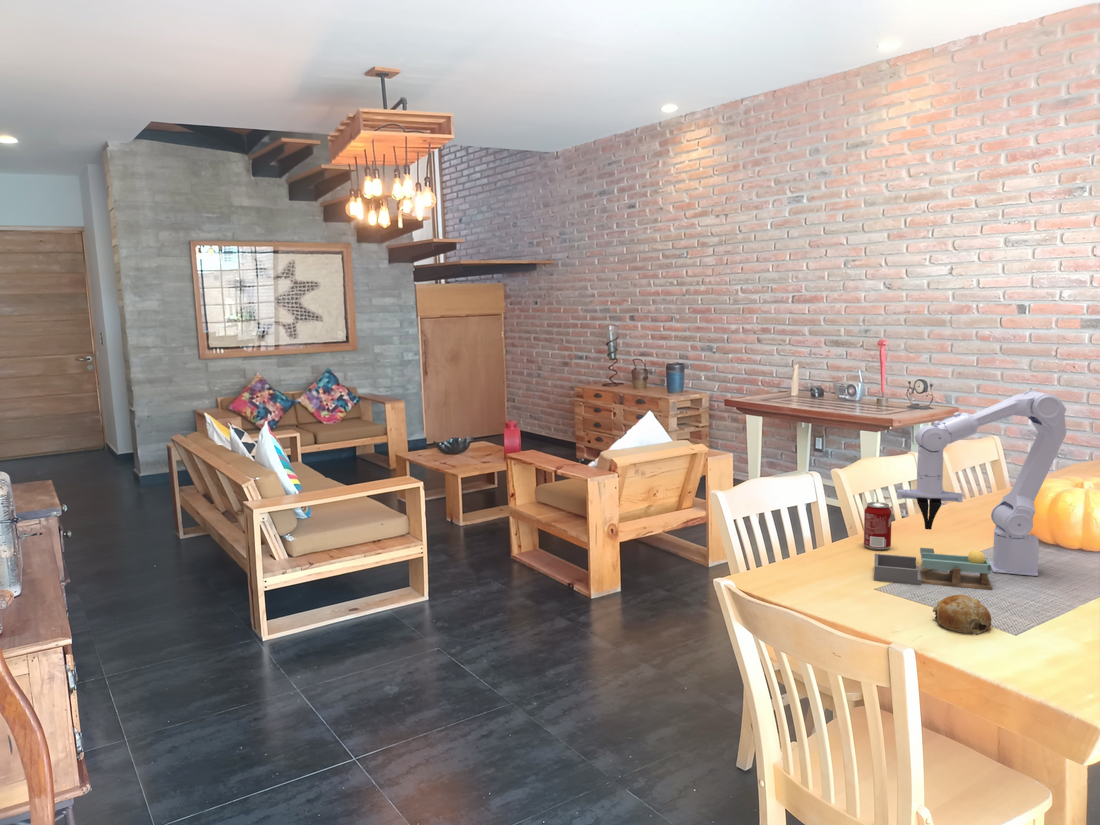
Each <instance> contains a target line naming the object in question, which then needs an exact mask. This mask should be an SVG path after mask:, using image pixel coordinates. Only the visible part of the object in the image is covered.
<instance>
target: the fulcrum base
mask: <svg viewBox="0 0 1100 825" xmlns="http://www.w3.org/2000/svg"><path fill="white" fill-rule="evenodd" d="M920 575H921V584H924V585H927V584H928V585H933V586H934V585H935V586H936V585H937V586H946V587H957V588H968V589H979V590H990V591H992V590H993V587H992V586H993V585H992V584H991V581H990V578H989V574H984V573H979V575H977V574H975V575H974V574H965V573H962V572H961V569H960V568H953V571H950V570H949V572H942V571H931V570H921V569H920Z"/></svg>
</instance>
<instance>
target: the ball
mask: <svg viewBox="0 0 1100 825" xmlns="http://www.w3.org/2000/svg"><path fill="white" fill-rule="evenodd" d="M967 556H968V560H969V562H970V563H975V564H984V562H985V558H986V555H985V553H983V552H982V551H980V550H977V549H976V550H975V549H974V550H972V551H970V552H969V553H968V555H967Z"/></svg>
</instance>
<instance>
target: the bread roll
mask: <svg viewBox="0 0 1100 825" xmlns="http://www.w3.org/2000/svg"><path fill="white" fill-rule="evenodd" d="M932 613H934V615H935V616H934V619H935V621H936V622H937V624H938V625H939V626H940V627H942V628H944V629H945V630H950V631H953V632H955V633H957V632H958V633H961V634H971V635H972V634H973V635H980V634H981V633H984V632H986V631H988V630H989V629H990V628H991V627H992V615H991V613H990V611H989V610H988V608H987V607H986V606H985V605H984V604H983V603H982V602H981V601H980V600H979V599H978V598H973V596H972V597H971V596H968V595H965V594H953V595H950V596H946V597H945V598H942V600H940V601H937V605H935V606H934V607H933V608H932ZM987 629H988V630H987Z"/></svg>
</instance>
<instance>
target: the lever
mask: <svg viewBox="0 0 1100 825" xmlns="http://www.w3.org/2000/svg"><path fill="white" fill-rule="evenodd" d="M919 553H920V558H921V563H922V564H921V565H922V569H928V570H939V571H949V572H950V571H953V568H960V569H961V573H962V572H963V573H964V572H965V573H973V574H974V573H975V574H980V573H984V574H988V575H991V574H992V573H991V571H992V568H991V565H990V562H989V561H990V559H988V557H985V562H984V564H975V563H970V562H969V560H968V555H967V556H966V555H956V554H955V555H954V554H942V553H935V551H934V548H931V547H919Z"/></svg>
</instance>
